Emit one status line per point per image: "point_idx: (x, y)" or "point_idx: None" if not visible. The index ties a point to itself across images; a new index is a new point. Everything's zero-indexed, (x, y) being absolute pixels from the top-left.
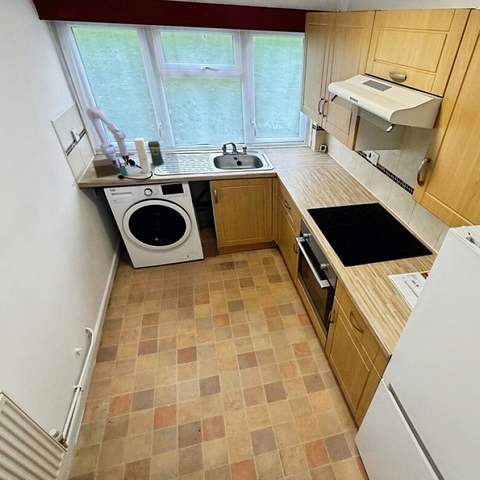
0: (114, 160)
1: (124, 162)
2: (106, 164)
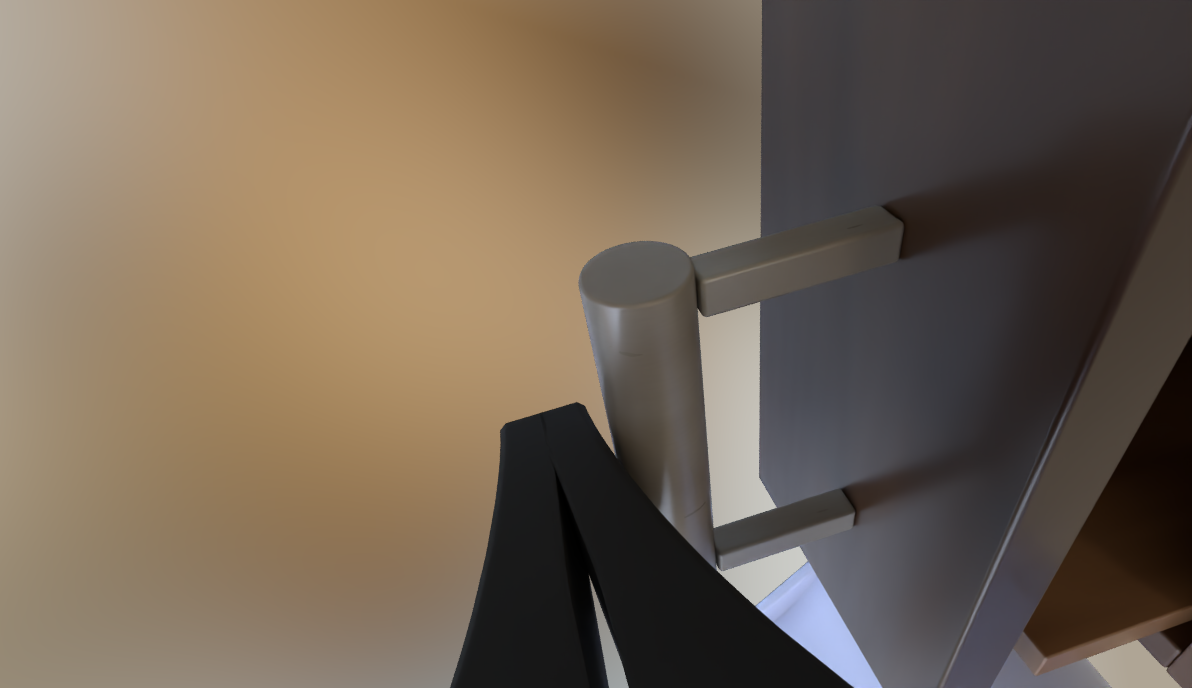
0: (1088, 629)
1: None
2: None
